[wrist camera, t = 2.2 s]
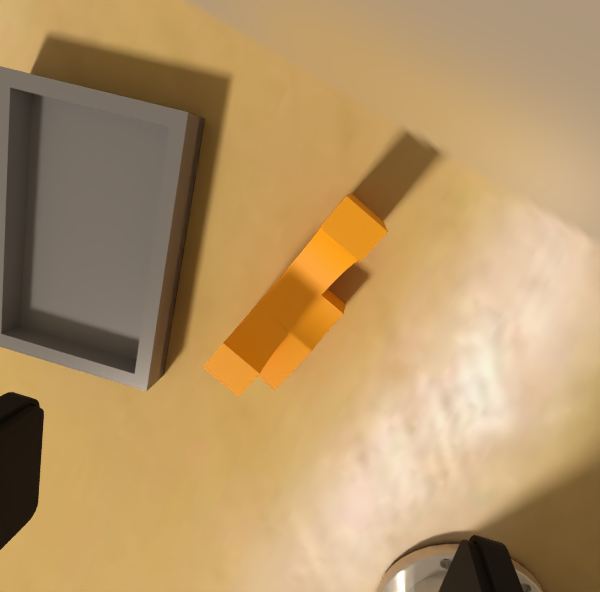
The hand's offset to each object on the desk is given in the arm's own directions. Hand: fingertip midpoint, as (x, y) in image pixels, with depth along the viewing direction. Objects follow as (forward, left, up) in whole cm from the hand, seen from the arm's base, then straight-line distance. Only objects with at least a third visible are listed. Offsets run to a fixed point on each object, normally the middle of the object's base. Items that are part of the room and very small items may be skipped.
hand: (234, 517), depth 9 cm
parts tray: (+16, 0, -19) cm, 25 cm away
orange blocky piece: (+1, 0, -20) cm, 20 cm away
